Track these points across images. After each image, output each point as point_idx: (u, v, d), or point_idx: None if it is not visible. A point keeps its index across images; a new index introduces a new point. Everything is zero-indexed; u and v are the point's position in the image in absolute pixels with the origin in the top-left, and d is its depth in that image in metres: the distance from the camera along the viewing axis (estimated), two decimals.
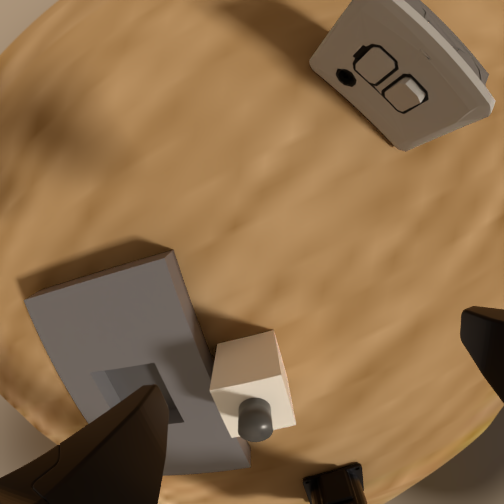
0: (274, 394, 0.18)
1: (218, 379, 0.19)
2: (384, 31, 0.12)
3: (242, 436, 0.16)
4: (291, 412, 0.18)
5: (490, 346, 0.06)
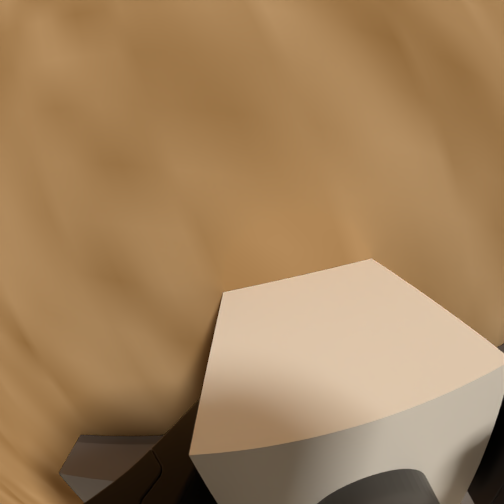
0: (307, 474, 0.03)
1: None
2: None
3: None
4: (443, 398, 0.03)
5: None
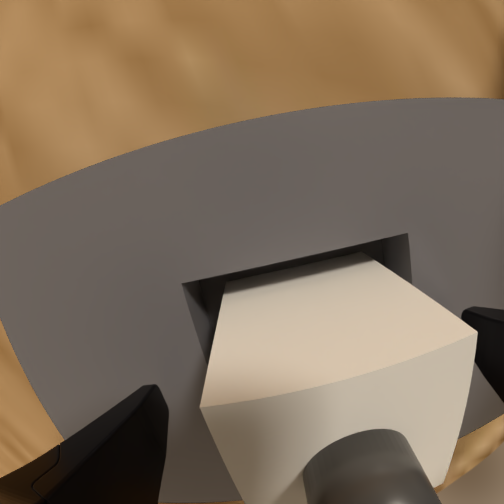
0: (300, 426, 0.04)
1: None
2: None
3: None
4: (414, 361, 0.04)
5: (490, 346, 0.06)
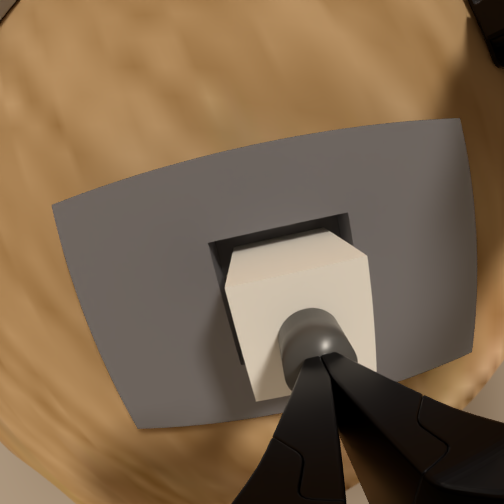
0: (273, 300, 0.10)
1: None
2: None
3: None
4: (329, 266, 0.09)
5: (336, 404, 0.06)
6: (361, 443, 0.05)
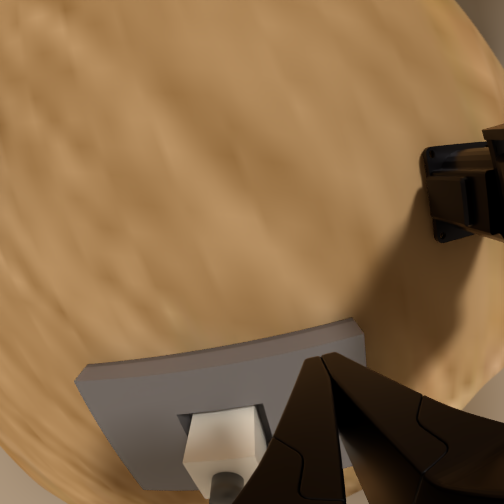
0: (207, 468, 0.16)
1: None
2: None
3: None
4: (234, 459, 0.15)
5: (336, 404, 0.06)
6: (361, 443, 0.05)
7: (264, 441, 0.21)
